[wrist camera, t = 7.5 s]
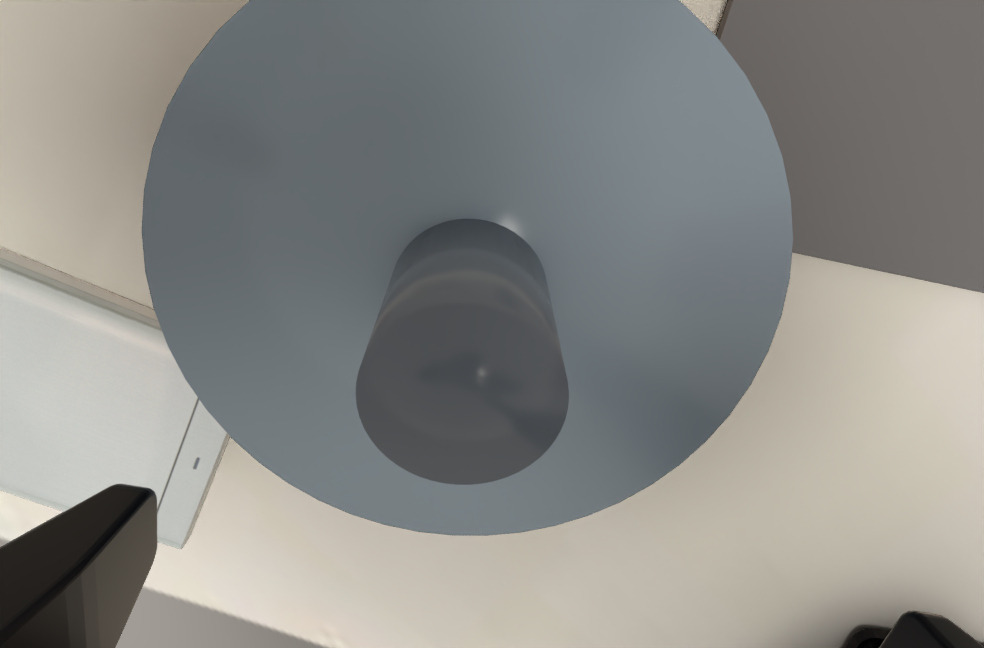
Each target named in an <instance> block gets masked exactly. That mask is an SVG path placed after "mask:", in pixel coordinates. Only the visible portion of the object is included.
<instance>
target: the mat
mask: <svg viewBox="0 0 984 648" xmlns="http://www.w3.org/2000/svg"><path fill="white" fill-rule="evenodd" d="M716 37H717V38H718V39H719V40H720V42H721V43H722V44H723V46H724V47H725V48H726V50H727V51H728V52H729V54H730V55H731V56H732V57H733V59H734V60H735V61H736V63H737V64H738V65H739V67H740V68H741V69H742V71H743V72H744V73H745V75H746V76H747V78H748V80H749V82H750V84H751V86H752V88H753V89H754V91H755V93H756V95H757V97H758V99H759V100H760V102H761V104H762V106H763V108H764V110H765V111H766V113H767V115H768V118H769V121H770V124H771V126H772V129H773V132H774V135H775V137H776V140H777V143H778V146H779V148H780V151H781V154H782V157H783V162H784V167H785V172H786V177H787V182H788V187H789V192H790V197H791V212H792V229H793V245H792V252H793V253H798V254H803V255H807V256H812V257H817V258H821V259H826V260H831V261H836V262H840V263H845V264H850V265H854V266H859V267H864V268H869V269H873V270H878V271H883V272H887V273H892V274H897V275H902V276H906V277H911V278H916V279H920V280H925V281H930V282H935V283H939V284H944V285H949V286H953V287H958V288H963V289H968V290H972V291H977V292H982V293H984V0H728V2H727V5H726V8H725V11H724V14H723V17H722V20H721V23H720V26H719V29H718V32H717V35H716Z"/></svg>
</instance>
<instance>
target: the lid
mask: <svg viewBox="0 0 984 648" xmlns="http://www.w3.org/2000/svg"><path fill="white" fill-rule="evenodd" d="M142 239H143V250H144V262H145V272H146V276H147V281H148V285H149V289H150V294H151V298H152V302H153V307H154V311H155V313H156V316H157V319H158V321H159V324H160V327H161V329H162V332H163V335H164V337H165V340H166V343H167V345H168V347H169V349H170V351H171V353H172V355H173V357H174V359H175V361H176V363H177V364H178V366H179V368H180V370H181V372H182V374H183V376H184V378H185V380H186V381H187V382H188V384H189V385H190V387H191V388H192V390H193V391H194V392H195V394H196V395H197V397H198V398H199V400H200V401H201V403H202V404H203V405H204V407H205V408H206V410H207V411H208V412H209V413H210V414H211V415H212V417H213V418H214V419H215V420H216V421H217V422H218V423H219V424H220V426H221V427H222V428H223V429H224V430H225V431H226V432H227V433H228V435H229V436H230V437H231V438H232V439H233V440H234V441H236V442H237V443H238V444H239V445H240V446H241V447H242V448H243V449H245V450H246V451H247V452H248V453H249V454H250V455H251V456H252V457H253V458H255V459H256V460H257V461H258V462H259V463H261V464H262V465H263V466H265V467H266V468H268V469H269V470H270V471H272V472H273V473H275V474H276V475H277V476H279V477H280V478H282V479H283V480H284V481H286V482H287V483H289V484H291V485H293V486H294V487H296V488H298V489H300V490H301V491H303V492H305V493H307V494H309V495H310V496H312V497H314V498H316V499H317V500H319V501H322V502H324V503H326V504H329V505H331V506H333V507H336V508H338V509H340V510H343V511H345V512H347V513H349V514H352V515H355V516H358V517H362V518H365V519H368V520H371V521H374V522H377V523H381V524H384V525H388V526H393V527H398V528H403V529H408V530H412V531H417V532H426V533H435V534H445V535H482V536H487V535H498V534H509V533H519V532H525V531H530V530H535V529H541V528H546V527H551V526H556V525H559V524H562V523H565V522H569V521H572V520H575V519H579V518H582V517H585V516H588V515H591V514H593V513H595V512H598V511H600V510H603V509H605V508H607V507H610V506H612V505H614V504H617V503H619V502H621V501H623V500H625V499H627V498H628V497H630V496H632V495H634V494H636V493H637V492H639V491H641V490H643V489H645V488H646V487H648V486H650V485H652V484H653V483H654V482H656V481H657V480H659V479H660V478H662V477H663V476H664V475H666V474H667V473H669V472H670V471H671V470H673V469H674V468H676V467H677V466H679V465H680V464H681V463H682V462H683V461H684V460H685V459H687V458H688V457H689V456H690V455H691V454H692V453H693V452H694V451H696V450H697V449H698V448H699V447H700V446H701V445H702V444H703V443H705V442H706V441H707V439H708V438H709V437H710V436H711V435H712V434H713V433H714V432H715V431H716V429H717V428H718V427H719V426H720V425H721V424H722V423H723V422H724V420H725V419H726V418H727V417H728V416H729V415H730V413H731V412H732V411H733V409H734V408H735V406H736V405H737V403H738V402H739V401H740V399H741V398H742V396H743V395H744V393H745V392H746V391H747V389H748V388H749V386H750V385H751V383H752V381H753V379H754V377H755V375H756V373H757V372H758V370H759V368H760V366H761V364H762V362H763V360H764V358H765V356H766V354H767V353H768V350H769V347H770V345H771V342H772V339H773V337H774V334H775V331H776V329H777V326H778V323H779V321H780V318H781V314H782V310H783V306H784V301H785V297H786V292H787V288H788V283H789V279H790V268H791V257H792V245H793V229H792V212H791V197H790V192H789V187H788V182H787V177H786V172H785V167H784V162H783V157H782V154H781V151H780V148H779V146H778V143H777V140H776V137H775V135H774V132H773V129H772V126H771V124H770V121H769V118H768V115H767V113H766V111H765V110H764V108H763V106H762V104H761V102H760V100H759V99H758V97H757V95H756V93H755V91H754V89H753V88H752V86H751V84H750V82H749V80H748V78H747V76H746V75H745V73H744V72H743V71H742V69H741V68H740V67H739V65H738V64H737V63H736V61H735V60H734V59H733V57H732V56H731V55H730V54H729V52H728V51H727V50H726V48H725V47H724V46H723V44H722V43H721V42H720V40H719V39H718V38H717V37H716V36H715V35H714V34H713V33H712V32H711V31H710V30H709V29H708V28H707V27H706V26H705V25H704V24H703V23H702V22H701V21H700V20H699V19H698V18H697V17H696V16H695V15H694V14H693V13H692V12H691V11H690V10H689V9H688V8H687V7H686V6H685V5H684V4H683V3H681V2H680V1H678V0H250V1H249V2H248V3H247V4H246V5H245V6H243V7H242V8H241V9H240V10H239V11H238V12H237V13H236V14H235V15H234V16H233V17H232V18H231V19H230V20H229V21H227V22H226V23H225V24H224V25H223V26H222V27H221V28H220V29H219V30H218V31H217V33H216V34H215V35H214V36H213V38H212V39H211V40H210V42H209V43H208V44H207V45H206V47H205V48H204V49H203V51H202V52H201V53H200V54H199V56H198V57H197V58H196V60H195V61H194V62H193V63H192V65H191V66H190V67H189V69H188V71H187V73H186V75H185V76H184V78H183V80H182V82H181V84H180V85H179V87H178V89H177V91H176V93H175V95H174V96H173V98H172V100H171V102H170V104H169V105H168V107H167V110H166V113H165V116H164V118H163V121H162V124H161V126H160V129H159V132H158V135H157V137H156V140H155V143H154V146H153V149H152V153H151V158H150V163H149V168H148V173H147V178H146V183H145V188H144V200H143V219H142Z"/></svg>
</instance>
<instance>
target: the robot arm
mask: <svg viewBox="0 0 984 648" xmlns="http://www.w3.org/2000/svg"><path fill="white" fill-rule="evenodd" d="M156 550H157V497H156V494H155V492H154V491H153V490H152V489H150V488H146V487H140V486H134V485H128V484H115V485H112V486H109V487H107V488H106V489H104V490H102V491H100V492H98V493H97V494H95V495H93V496H91V497H89V498H88V499H86V500H84V501H82V502H80V503H79V504H77V505H75V506H73V507H71V508H70V509H68V510H66V511H64V512H62V513H61V514H59V515H57V516H55V517H53V518H52V519H50V520H48V521H46V522H44V523H43V524H41V525H39V526H37V527H35V528H34V529H32V530H30V531H28V532H27V533H25V534H23V535H21V536H19V537H18V538H16V539H14V540H12V541H10V542H9V543H7V544H5V545H3V546H1V547H0V648H115V647H116V645H117V643H118V640H119V638H120V636H121V634H122V631H123V629H124V627H125V625H126V623H127V620H128V618H129V616H130V614H131V611H132V609H133V607H134V605H135V602H136V600H137V598H138V596H139V593H140V591H141V589H142V587H143V584H144V582H145V580H146V578H147V575H148V573H149V571H150V569H151V566H152V564H153V561H154V558H155V554H156ZM846 648H984V646H983V645H982V644H980V643H979V642H978V641H976V640H975V639H974V638H972V637H971V636H970V635H968V634H967V633H966V632H965V631H963V630H962V629H961V628H959V627H958V626H957V625H955V624H954V623H953V622H951V621H950V620H949V619H947V618H945V617H943V616H941V615H937V614H932V613H925V612H919V611H908V612H906V613H904V614H902V615H901V617H900V618H899V619H898V621H897V622H896V624H895V625H894V627H893V628H892V630H891V631H890V632H888V631H882V630H875V629H864V630H861V631H859V632H857V633H856V634H855V635H854V636H853V638H852V639H851V641H850V642H849V644H848V645H847V647H846Z"/></svg>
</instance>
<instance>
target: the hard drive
mask: <svg viewBox="0 0 984 648" xmlns="http://www.w3.org/2000/svg"><path fill="white" fill-rule="evenodd" d="M229 438H230V436H229V435H228V433H227V432H226V431H225V430H224V429H223V428H222V427H221V426H220V424H219V423H218V422H217V421H216V420H215V419H214V418H213V417H212V415H211V414H210V413H209V412H208V411H207V410H206V408H205V407H204V405H203V404H202V403H201V401H200V400H199V398H198V397H197V395H196V394H195V392H194V391H193V390H192V388H191V387H190V385H189V384H188V382H187V381H186V380H185V378H184V376H183V374H182V372H181V370H180V368H179V366H178V364H177V363H176V361H175V359H174V357H173V355H172V353H171V351H170V349H169V347H168V345H167V343H166V340H165V337H164V335H163V332H162V329H161V327H160V324H159V321H158V319H157V316H156V313H155V311H154V310H153V309H150V308H148V307H146V306H143V305H141V304H138V303H136V302H133V301H131V300H129V299H126V298H124V297H121V296H119V295H116V294H114V293H111V292H109V291H107V290H104V289H102V288H99V287H97V286H94V285H92V284H89V283H87V282H85V281H82V280H80V279H77V278H75V277H72V276H70V275H67V274H65V273H63V272H60V271H58V270H55V269H53V268H50V267H48V266H45V265H43V264H40V263H38V262H35V261H33V260H30V259H28V258H26V257H23V256H21V255H18V254H16V253H13V252H11V251H8V250H6V249H4V248H1V247H0V491H3V492H6V493H9V494H12V495H15V496H18V497H21V498H24V499H27V500H30V501H33V502H36V503H39V504H42V505H45V506H48V507H51V508H54V509H57V510H60V511H63V512H64V511H66V510H68V509H70V508H71V507H73V506H75V505H77V504H79V503H80V502H82V501H84V500H86V499H88V498H89V497H91V496H93V495H95V494H97V493H98V492H100V491H102V490H104V489H106V488H107V487H109V486H112V485H115V484H128V485H134V486H140V487H146V488H150V489H152V490H153V491H154V492H155V494H156V497H157V542H159V543H162V544H165V545H169V546H172V547H175V548H178V549H182V548H183V546H184V545H185V544H186V542H187V541H188V539H189V537H190V535H191V533H192V530H193V528H194V525H195V523H196V520H197V518H198V515H199V513H200V510H201V508H202V505H203V503H204V500H205V498H206V495H207V493H208V490H209V488H210V485H211V483H212V480H213V478H214V475H215V473H216V470H217V468H218V465H219V463H220V461H221V458H222V456H223V453H224V451H225V448H226V446H227V443H228V441H229Z"/></svg>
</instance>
